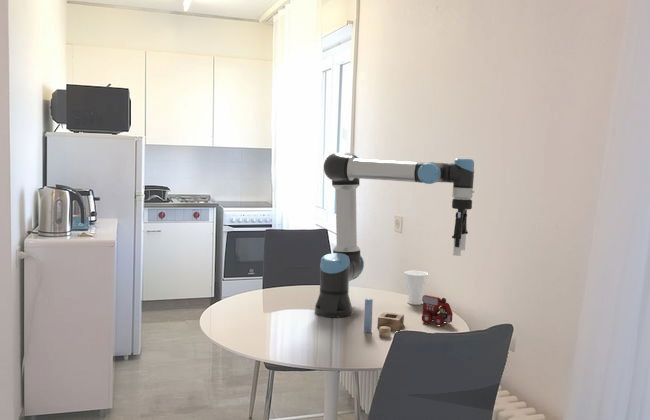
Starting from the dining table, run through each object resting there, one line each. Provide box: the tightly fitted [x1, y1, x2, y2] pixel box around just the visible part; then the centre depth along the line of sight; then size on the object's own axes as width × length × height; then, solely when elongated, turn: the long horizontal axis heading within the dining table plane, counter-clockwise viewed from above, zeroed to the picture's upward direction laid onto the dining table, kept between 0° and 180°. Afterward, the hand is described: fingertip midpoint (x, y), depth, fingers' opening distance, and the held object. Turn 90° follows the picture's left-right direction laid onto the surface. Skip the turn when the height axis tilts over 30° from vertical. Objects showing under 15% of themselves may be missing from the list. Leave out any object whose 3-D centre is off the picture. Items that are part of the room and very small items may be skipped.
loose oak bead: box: [378, 326, 392, 339], centre depth 203 cm, size 4×4×3 cm
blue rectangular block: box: [363, 298, 374, 334], centre depth 207 cm, size 3×3×12 cm
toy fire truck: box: [421, 294, 454, 327], centre depth 220 cm, size 7×12×10 cm, turn 54°
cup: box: [403, 269, 429, 306], centre depth 249 cm, size 10×10×14 cm
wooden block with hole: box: [377, 311, 405, 331], centre depth 215 cm, size 8×8×4 cm
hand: (459, 252), depth 223 cm, fingers open, 13 cm apart
